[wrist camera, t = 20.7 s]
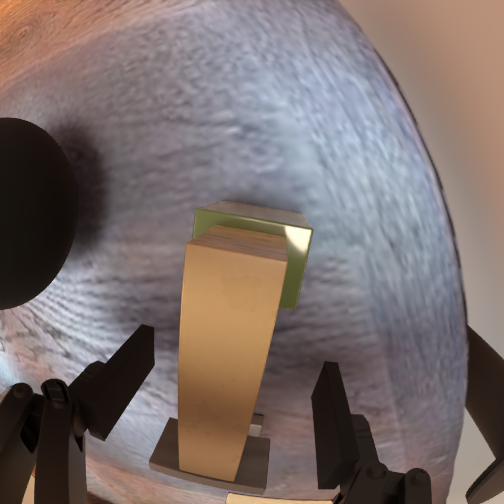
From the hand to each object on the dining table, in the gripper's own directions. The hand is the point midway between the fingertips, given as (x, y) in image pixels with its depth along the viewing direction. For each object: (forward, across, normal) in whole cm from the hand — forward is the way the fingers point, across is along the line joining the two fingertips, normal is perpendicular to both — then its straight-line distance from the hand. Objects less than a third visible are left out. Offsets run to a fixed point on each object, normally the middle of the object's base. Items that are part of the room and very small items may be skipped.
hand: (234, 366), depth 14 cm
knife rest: (+1, 0, +7) cm, 7 cm away
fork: (+1, 0, -2) cm, 2 cm away
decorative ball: (+1, -13, +7) cm, 15 cm away
